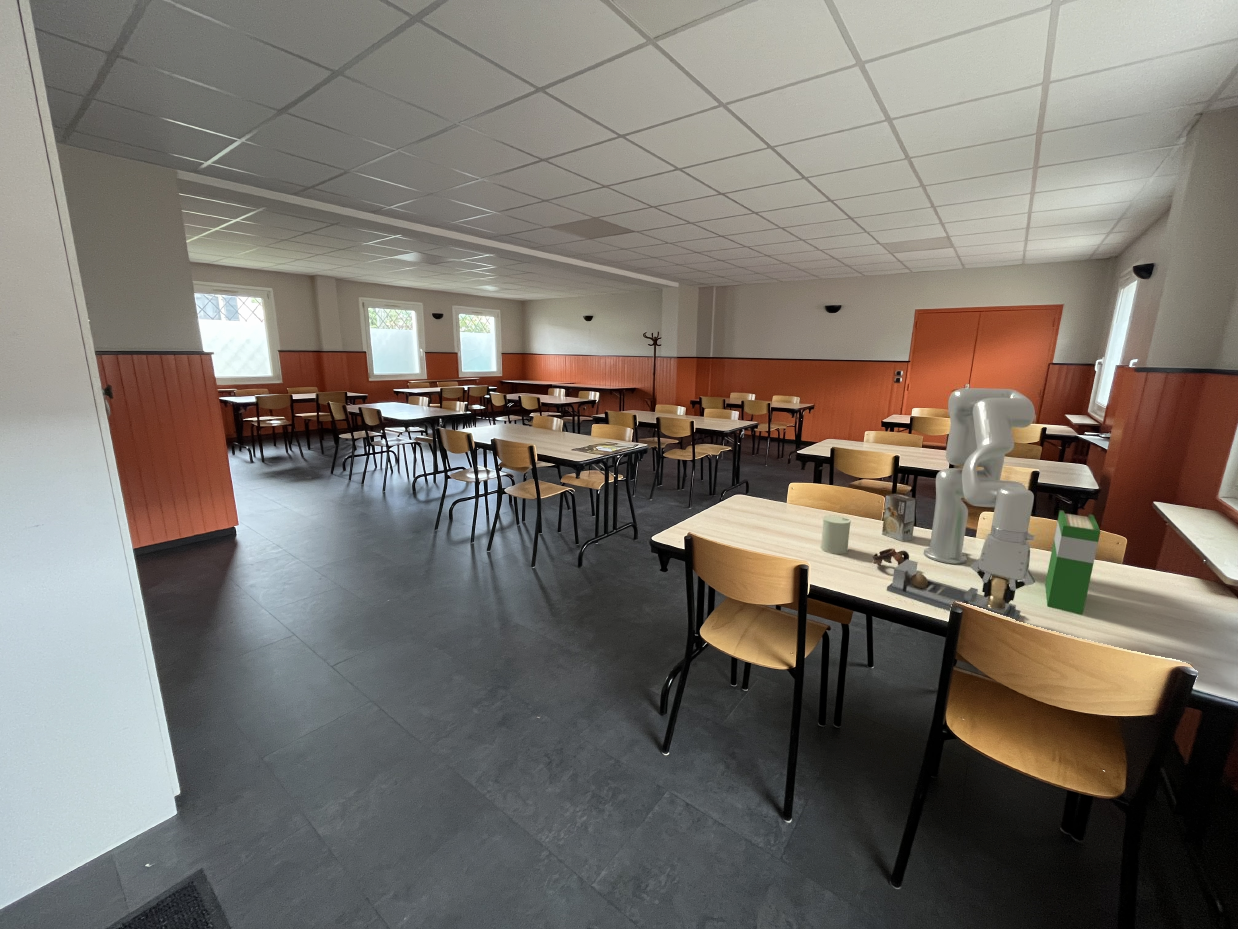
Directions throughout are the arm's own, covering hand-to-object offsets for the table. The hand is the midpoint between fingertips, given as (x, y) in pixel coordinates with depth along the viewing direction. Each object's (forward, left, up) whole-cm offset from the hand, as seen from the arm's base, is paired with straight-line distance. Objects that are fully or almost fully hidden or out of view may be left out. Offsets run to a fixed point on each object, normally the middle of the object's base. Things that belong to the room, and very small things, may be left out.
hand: (997, 598), depth 136 cm
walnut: (0, -19, -2) cm, 19 cm away
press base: (0, -11, -5) cm, 12 cm away
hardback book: (-27, +10, -5) cm, 29 cm away
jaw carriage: (0, -2, -4) cm, 4 cm away
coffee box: (-45, -42, -5) cm, 61 cm away
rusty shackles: (-11, -30, -6) cm, 33 cm away
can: (-14, -52, -5) cm, 54 cm away
